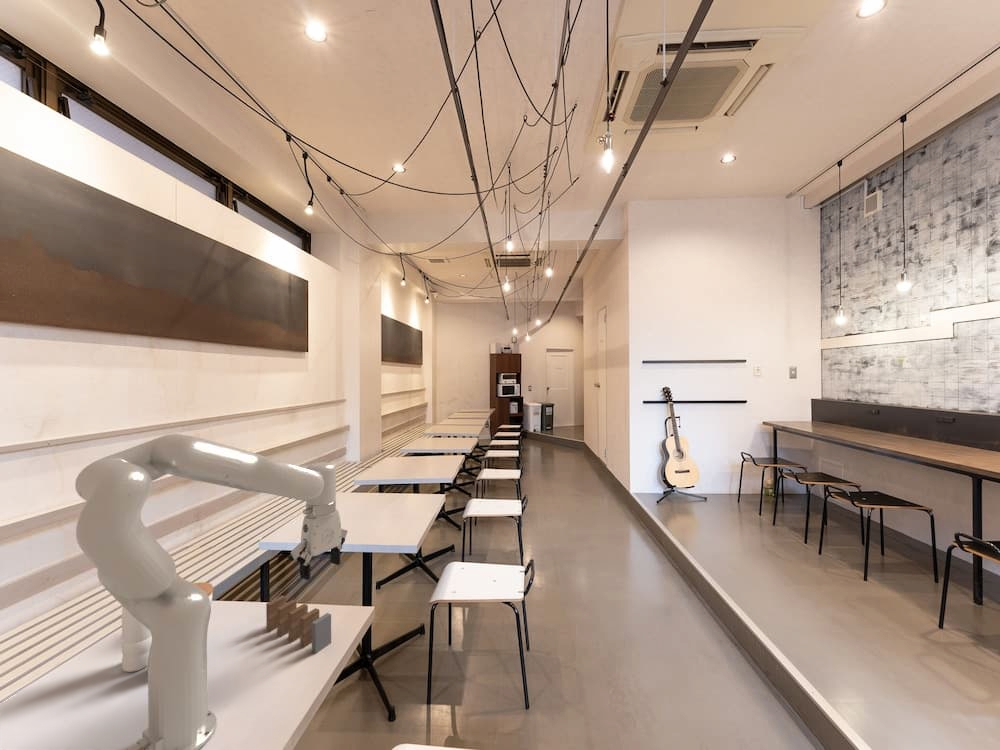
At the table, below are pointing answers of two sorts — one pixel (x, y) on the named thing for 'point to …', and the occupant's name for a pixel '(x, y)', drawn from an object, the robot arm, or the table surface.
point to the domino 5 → (321, 633)
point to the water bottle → (134, 643)
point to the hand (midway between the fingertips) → (320, 570)
